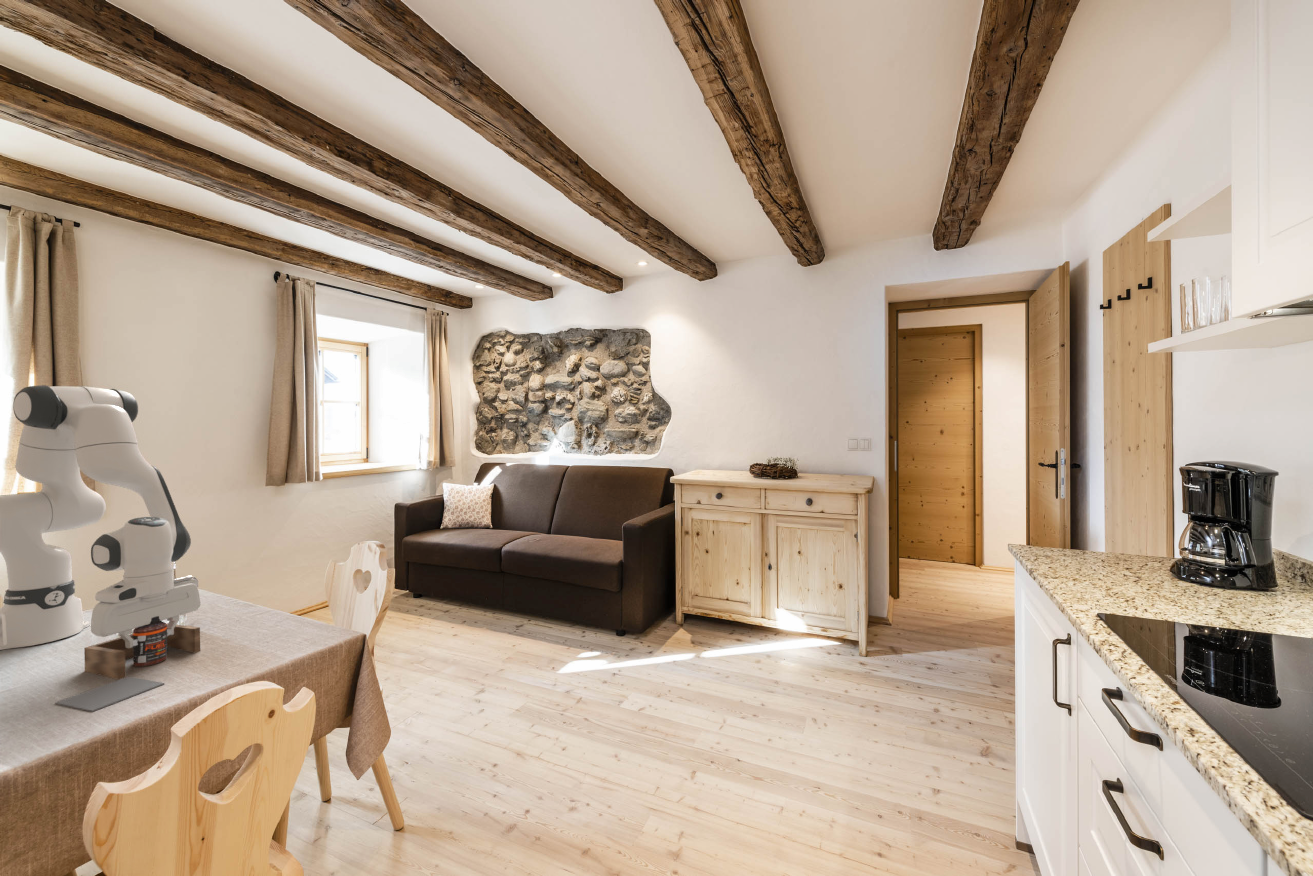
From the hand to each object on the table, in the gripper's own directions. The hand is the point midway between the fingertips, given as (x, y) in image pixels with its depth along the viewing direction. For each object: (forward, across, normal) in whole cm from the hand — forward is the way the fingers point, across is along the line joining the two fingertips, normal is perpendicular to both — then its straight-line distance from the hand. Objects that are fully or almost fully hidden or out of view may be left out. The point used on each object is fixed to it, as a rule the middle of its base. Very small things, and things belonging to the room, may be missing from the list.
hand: (150, 641), depth 127 cm
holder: (+5, 0, -1) cm, 5 cm away
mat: (+5, +13, +11) cm, 18 cm away
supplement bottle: (+5, 0, 0) cm, 5 cm away
